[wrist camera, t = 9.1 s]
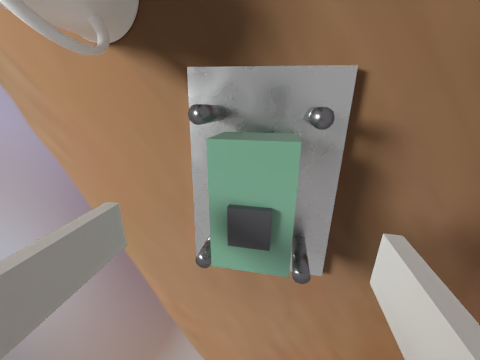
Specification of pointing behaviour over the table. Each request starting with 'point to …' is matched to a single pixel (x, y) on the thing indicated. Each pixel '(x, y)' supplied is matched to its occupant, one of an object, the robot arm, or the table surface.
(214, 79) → the chassis
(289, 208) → the board
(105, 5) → the mug
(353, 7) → the table surface
